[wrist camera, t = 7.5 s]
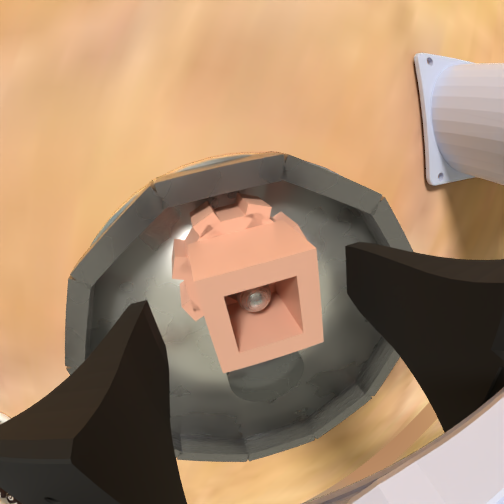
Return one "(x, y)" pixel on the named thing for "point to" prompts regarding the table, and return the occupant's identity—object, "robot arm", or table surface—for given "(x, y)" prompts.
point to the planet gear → (249, 281)
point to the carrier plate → (197, 334)
